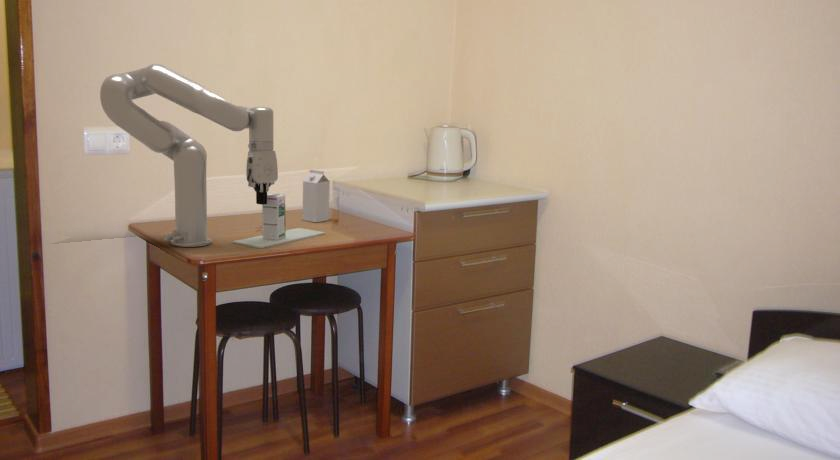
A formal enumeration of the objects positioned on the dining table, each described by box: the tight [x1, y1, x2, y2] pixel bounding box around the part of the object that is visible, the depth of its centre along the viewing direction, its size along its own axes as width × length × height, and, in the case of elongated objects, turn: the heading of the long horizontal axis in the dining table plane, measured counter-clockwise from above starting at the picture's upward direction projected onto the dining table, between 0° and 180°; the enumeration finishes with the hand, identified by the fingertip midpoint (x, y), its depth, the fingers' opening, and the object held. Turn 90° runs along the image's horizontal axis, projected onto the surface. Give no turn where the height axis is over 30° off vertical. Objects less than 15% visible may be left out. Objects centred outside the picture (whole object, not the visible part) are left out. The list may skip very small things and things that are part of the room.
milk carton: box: [302, 169, 331, 223], centre depth 292 cm, size 7×7×19 cm
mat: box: [232, 227, 326, 249], centre depth 258 cm, size 32×12×1 cm, turn 148°
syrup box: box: [261, 193, 286, 240], centre depth 254 cm, size 6×6×14 cm
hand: (261, 203), depth 248 cm, fingers closed
